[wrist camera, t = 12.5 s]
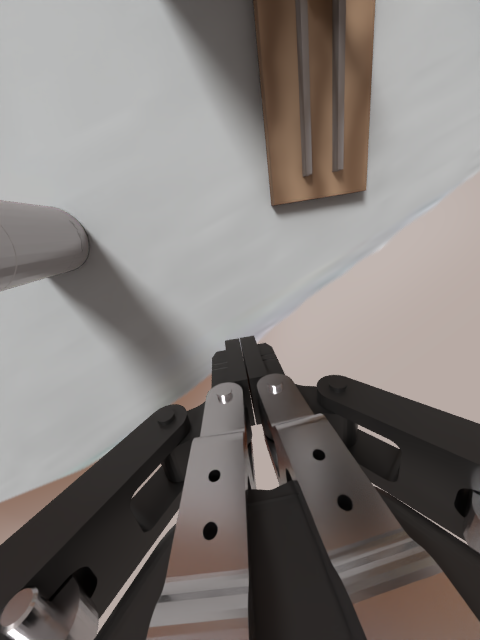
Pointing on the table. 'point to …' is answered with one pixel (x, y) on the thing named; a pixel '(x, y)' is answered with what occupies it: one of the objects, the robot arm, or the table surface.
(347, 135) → the wooden track base
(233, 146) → the table surface
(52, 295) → the table surface
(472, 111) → the table surface
